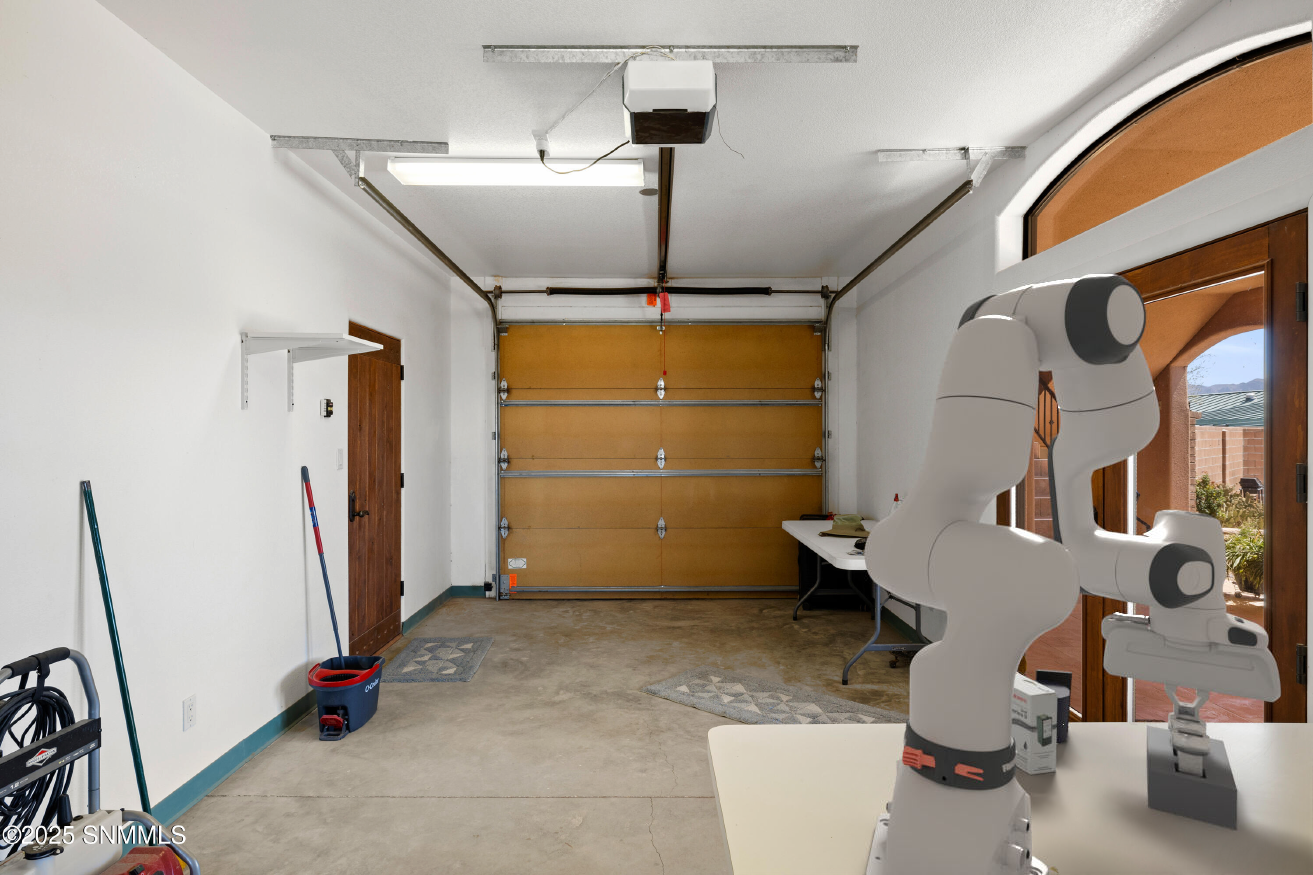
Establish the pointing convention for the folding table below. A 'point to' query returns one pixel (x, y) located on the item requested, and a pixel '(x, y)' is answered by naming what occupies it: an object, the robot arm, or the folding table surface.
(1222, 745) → the control panel
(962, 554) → the robot arm
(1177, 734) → the near knob
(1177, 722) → the middle knob
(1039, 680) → the speaker
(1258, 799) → the folding table surface
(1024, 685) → the ink box
